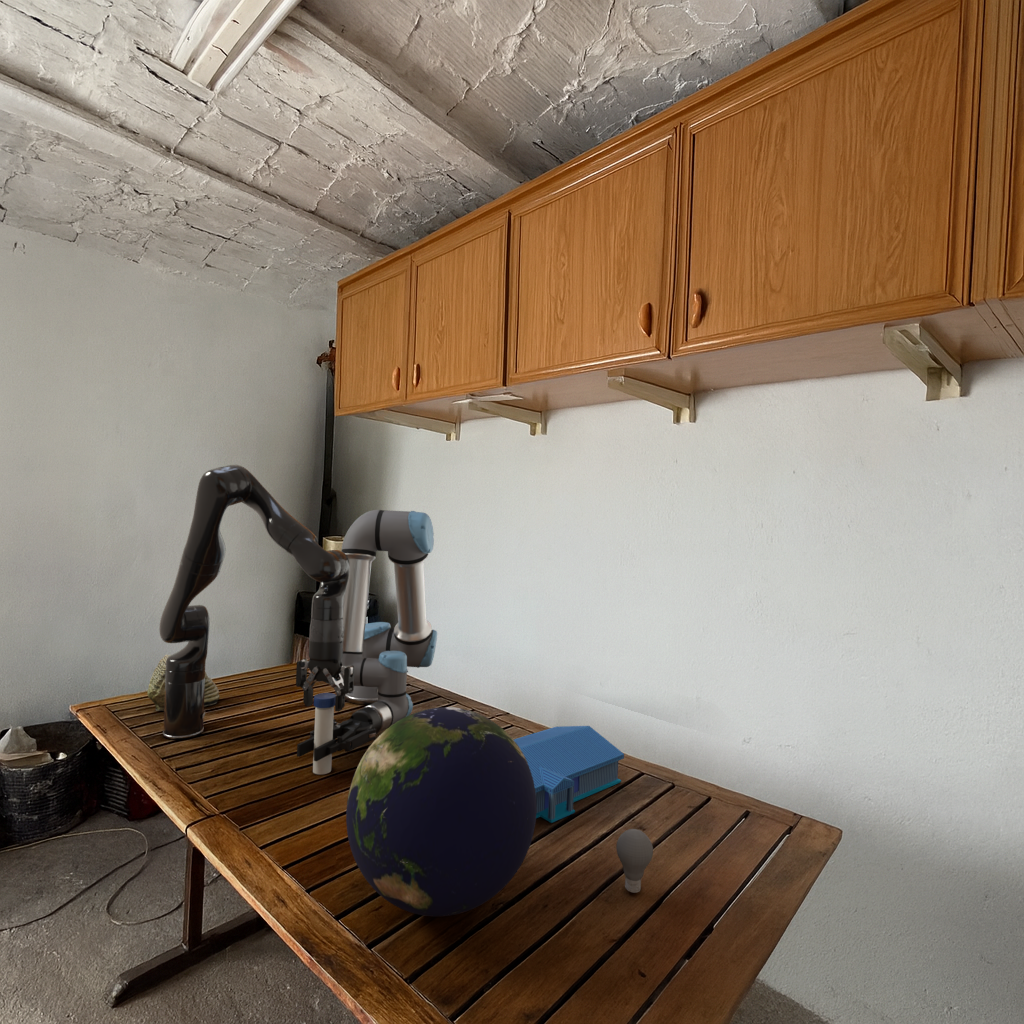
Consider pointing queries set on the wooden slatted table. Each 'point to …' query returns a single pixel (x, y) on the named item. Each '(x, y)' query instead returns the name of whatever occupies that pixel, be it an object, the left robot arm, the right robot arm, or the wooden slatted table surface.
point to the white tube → (323, 737)
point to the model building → (568, 767)
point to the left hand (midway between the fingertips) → (323, 707)
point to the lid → (324, 700)
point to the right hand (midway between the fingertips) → (307, 752)
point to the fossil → (158, 687)
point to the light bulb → (634, 857)
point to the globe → (441, 811)
